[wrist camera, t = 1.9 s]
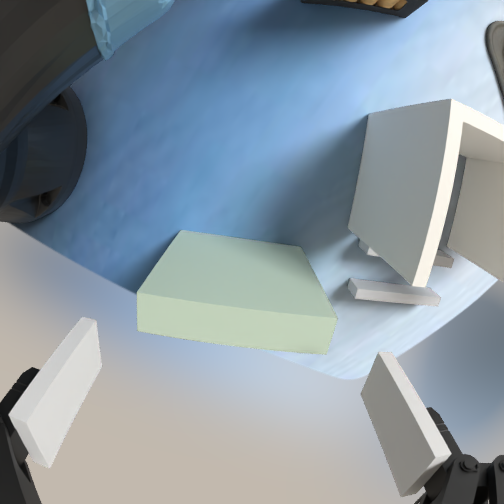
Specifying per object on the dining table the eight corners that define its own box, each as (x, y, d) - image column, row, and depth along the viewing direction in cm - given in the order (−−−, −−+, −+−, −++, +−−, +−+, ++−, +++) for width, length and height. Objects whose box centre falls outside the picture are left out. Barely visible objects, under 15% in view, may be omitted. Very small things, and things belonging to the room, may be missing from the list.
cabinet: (333, 285, 31) (380, 368, 18) (368, 113, 26) (451, 98, 13) (437, 297, 32) (503, 362, 19) (474, 151, 26) (565, 166, 14)
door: (177, 265, 30) (137, 344, 18) (180, 229, 29) (136, 292, 16) (293, 281, 31) (322, 366, 18) (300, 246, 30) (337, 318, 17)
